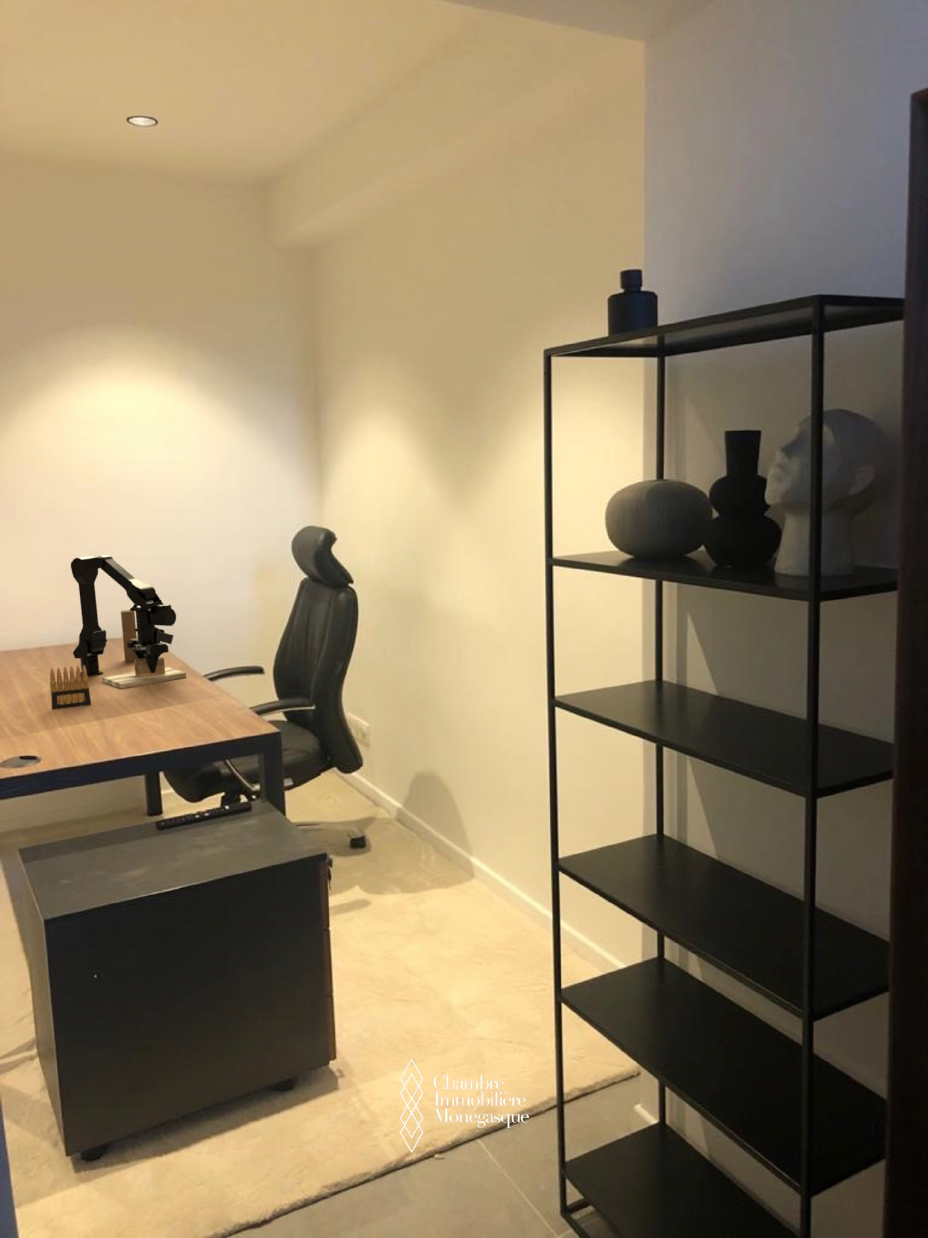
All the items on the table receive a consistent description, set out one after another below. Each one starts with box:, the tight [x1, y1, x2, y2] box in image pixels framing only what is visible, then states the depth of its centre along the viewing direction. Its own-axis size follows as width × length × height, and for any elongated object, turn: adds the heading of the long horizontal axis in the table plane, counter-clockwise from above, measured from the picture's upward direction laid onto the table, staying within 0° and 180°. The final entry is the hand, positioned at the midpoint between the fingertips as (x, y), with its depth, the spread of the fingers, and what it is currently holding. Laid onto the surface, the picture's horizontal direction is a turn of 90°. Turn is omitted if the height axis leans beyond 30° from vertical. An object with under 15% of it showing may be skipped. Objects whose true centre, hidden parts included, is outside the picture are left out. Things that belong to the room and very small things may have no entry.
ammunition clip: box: [49, 665, 92, 711], centre depth 296 cm, size 11×2×12 cm, turn 113°
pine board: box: [101, 666, 187, 689], centre depth 332 cm, size 15×22×2 cm
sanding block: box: [133, 656, 166, 677], centre depth 333 cm, size 5×8×5 cm, turn 132°
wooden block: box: [120, 609, 138, 663], centre depth 365 cm, size 9×4×18 cm, turn 110°
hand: (149, 671), depth 333 cm, fingers closed on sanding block, 5 cm apart
